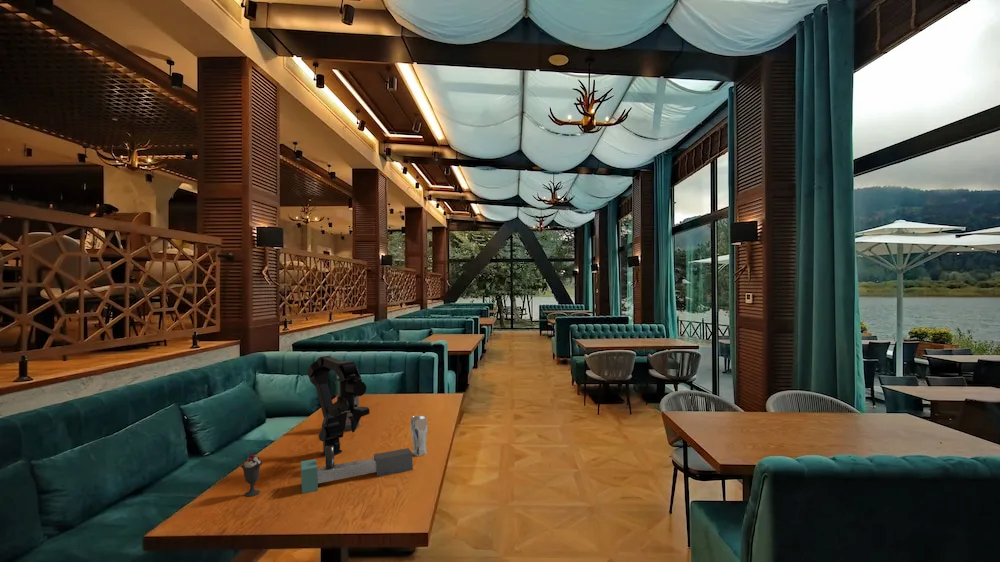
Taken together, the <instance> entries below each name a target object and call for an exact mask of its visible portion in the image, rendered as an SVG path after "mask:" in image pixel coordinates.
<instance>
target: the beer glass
mask: <svg viewBox="0 0 1000 562" xmlns="http://www.w3.org/2000/svg"><path fill="white" fill-rule="evenodd" d="M427 418H428V417H427V416H426V415H414V416H412V417H410V435H411V440H412V456H415V457H421V456H424V455H427V454H428V450H427V436H428V420H427Z"/></svg>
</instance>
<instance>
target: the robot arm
mask: <svg viewBox="0 0 1000 562" xmlns="http://www.w3.org/2000/svg"><path fill="white" fill-rule="evenodd" d="M330 371H334V373H335V375H336V376H337V377H338V378H337V380H336V381H337V382H339V383H338V384H339V394H340V396H338V395H337V397H338V398H337V397H336V401H335V402H333V400H332V395H331V391H330V388H329V385H328V381H329V378H330ZM306 373H307V375H306V376H307V377H308V378H309V381H310V383H311V384H312V385H313V386H314V387H315V389H316V393H317V397H318V401H319V404H320V407H321V412H322V416H323V420H322V423H321V430H320V432H319V434H318V440H319V441H320V442H322V444H323V446H322V448H323V449H322V450H323V452H321V453H320V455H322V456H325V447H326V446H329V445H333V446H334V456H336V455H338V454H340V453H342V452H343V449H341V442H340V438H343V437H344V433H345V431H344V430H345V426H346V418H347V413H352V416H350V417H348V418H349V419H350V420H351V430H352V431H351V432H352V433H355V432H356V430H357V429H356V427H357V425H358V422H359V423H360V420H361V418H362V417H365V416H367V415H370V408H369V407H368V406H359V407H358V408H355V407H357V404H355V397H357V396H359V397H362V396H364V395H365V393H366V391H367V385H366V382H364V381H362V379H363V378H362V376H361V372H360V370H359V369H358V366H357V364H356V362H355V361H354V360H353V361H351V360H350V361H349V360H347V361H346V360H345V361H344V360H343V361H342V360H339V359H337V358H334V357H332V356H331V355H326V356H319V357H318V358H317V360H316V361H314V362H313V363H312V364H310V365H309V367H308V369H307V372H306ZM350 410H351V411H350ZM355 429H356V430H355Z"/></svg>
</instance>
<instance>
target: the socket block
mask: <svg viewBox="0 0 1000 562" xmlns="http://www.w3.org/2000/svg"><path fill="white" fill-rule="evenodd" d="M317 468H318V463H317V459H316V458H314V459H308V460H302V461H300V475H301V477H300V478H301V480H300V481H301V482H300V483H301V493H302V494H306V493H307V494H308V493H311V492H316V491H317V492H318V491H319V486H318V485H319V483H318V476H317Z"/></svg>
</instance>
